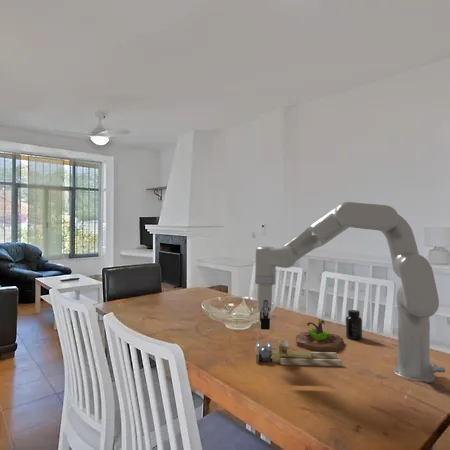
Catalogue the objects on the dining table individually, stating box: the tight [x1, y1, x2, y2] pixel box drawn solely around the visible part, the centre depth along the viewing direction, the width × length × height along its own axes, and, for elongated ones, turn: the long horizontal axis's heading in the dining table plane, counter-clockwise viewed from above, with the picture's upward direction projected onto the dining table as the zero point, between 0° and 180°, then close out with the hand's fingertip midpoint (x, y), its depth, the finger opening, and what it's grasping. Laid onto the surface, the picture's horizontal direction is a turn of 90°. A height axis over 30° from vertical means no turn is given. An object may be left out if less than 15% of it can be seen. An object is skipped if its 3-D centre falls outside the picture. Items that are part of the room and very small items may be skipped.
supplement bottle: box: [345, 309, 363, 341], centre depth 158 cm, size 7×7×12 cm
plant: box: [295, 318, 345, 353], centre depth 150 cm, size 20×20×11 cm
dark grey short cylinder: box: [259, 345, 272, 363], centre depth 132 cm, size 5×4×4 cm
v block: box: [254, 341, 274, 356], centre depth 142 cm, size 8×7×3 cm
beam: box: [255, 339, 343, 367], centre depth 131 cm, size 30×8×6 cm, turn 86°
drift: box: [271, 349, 312, 363], centre depth 131 cm, size 14×4×4 cm, turn 83°
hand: (264, 325), depth 132 cm, fingers open, 9 cm apart
